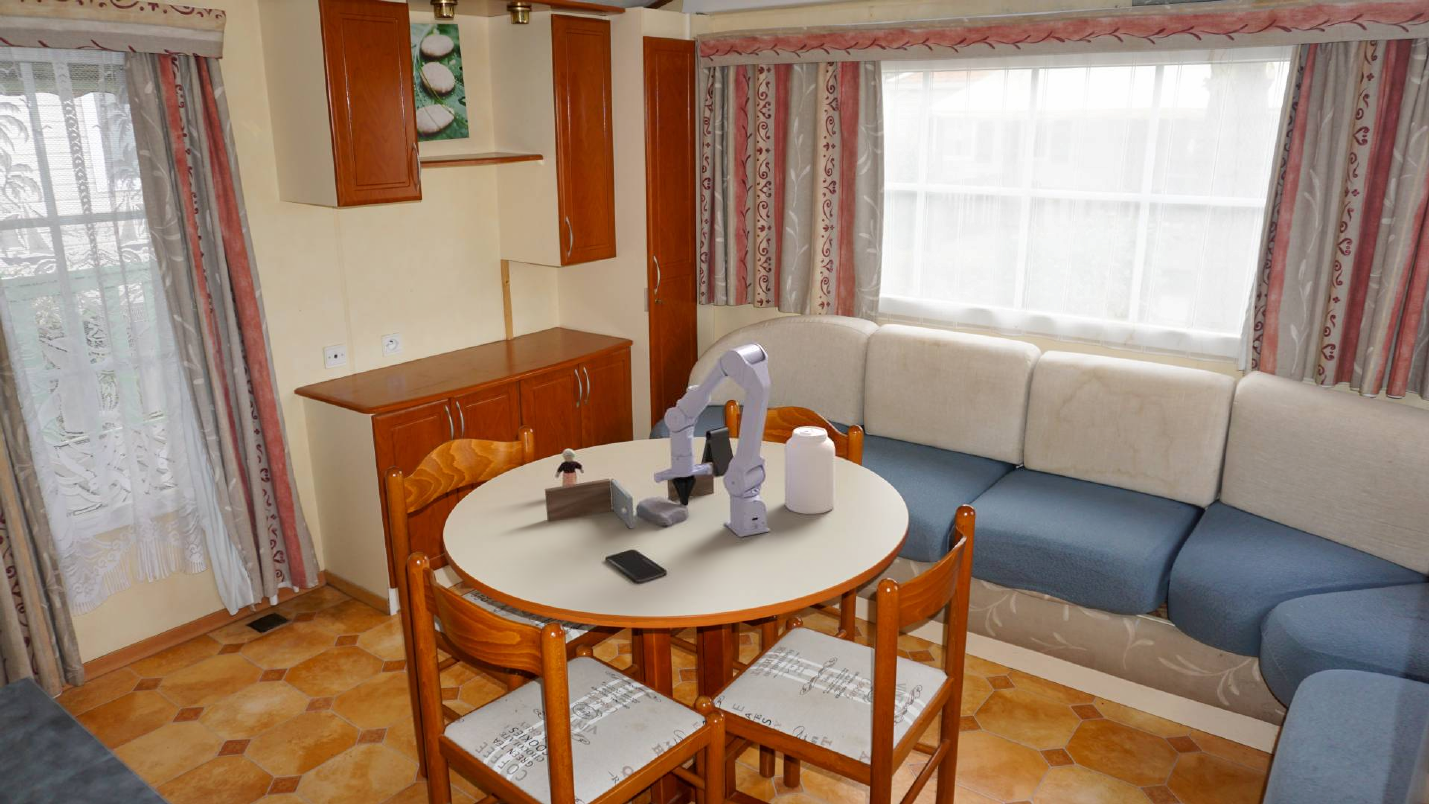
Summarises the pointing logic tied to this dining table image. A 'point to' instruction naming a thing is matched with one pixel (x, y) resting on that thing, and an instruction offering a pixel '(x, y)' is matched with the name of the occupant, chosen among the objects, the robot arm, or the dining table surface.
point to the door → (622, 503)
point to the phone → (635, 566)
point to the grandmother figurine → (569, 468)
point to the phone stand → (718, 450)
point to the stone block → (661, 511)
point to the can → (809, 471)
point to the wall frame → (604, 496)
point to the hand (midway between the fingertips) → (684, 504)
